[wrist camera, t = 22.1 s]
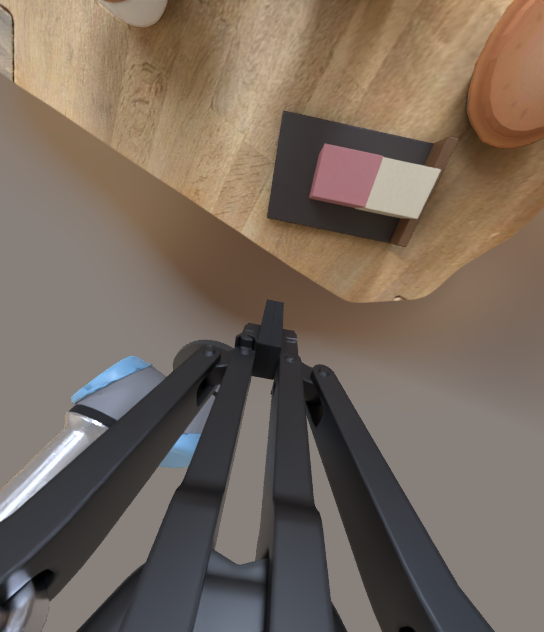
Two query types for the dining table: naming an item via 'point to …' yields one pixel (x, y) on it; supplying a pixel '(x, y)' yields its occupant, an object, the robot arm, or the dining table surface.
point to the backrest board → (300, 164)
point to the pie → (510, 79)
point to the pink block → (344, 176)
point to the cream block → (400, 189)
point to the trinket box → (136, 10)
